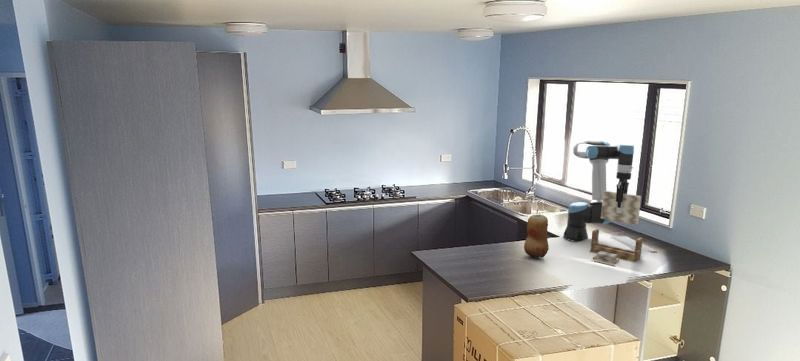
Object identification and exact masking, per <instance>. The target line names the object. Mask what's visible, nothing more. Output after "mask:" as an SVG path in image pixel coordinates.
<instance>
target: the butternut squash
mask: <svg viewBox="0 0 800 361" xmlns="http://www.w3.org/2000/svg"><path fill="white" fill-rule="evenodd" d="M548 220H549V219H548V217H547V216H546V215H543V214H538V213H537V214H532V215H530V216H529V217H528V219H527V224H526V231H527V237H526V239H525V241H524V244H523V250H524V252H525V253H526V255H528V256H529V257H530V258H532V259H537V260H538V259H539V258H544V257H545V256H546V255H547V254H548V252H549V250H550V248H549V241H548V226H549V221H548Z"/></svg>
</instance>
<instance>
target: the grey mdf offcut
mask: <svg viewBox="0 0 800 361" xmlns="http://www.w3.org/2000/svg"><path fill="white" fill-rule="evenodd" d="M596 255H597V258H600V259H605V260H610V261H614V260H616V259H618V258H617V254H612V253H608V252H603V251H600V252H598V253H597V254H596Z"/></svg>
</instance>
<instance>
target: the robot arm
mask: <svg viewBox="0 0 800 361" xmlns="http://www.w3.org/2000/svg"><path fill="white" fill-rule="evenodd" d="M634 153H635V147H634V145H633V144H628V143H627V144H626V143H625V144H624V143H623V144H622V143H621V144H620V145H611V144H610V143H609V142H608V141H603V140H581V141H578V142H576V143H575V144H574V145H573V146H572V154H574V156H576V157H577V158H581V159H589V160H588V161H589V162H588V163H590V164H591V197H592V199H591V201H590V202H589V204H588V203H587V202H582V201H581V202H573V203H570V204H569V206H568V210H567V223H566V225H567V226H566V227H565V230H564V232H563V239H565V238H566V239H565V240H567V239H569V240H568V241H571V240H573V241H572V242H578V241H580V242H582V241H584V240H588V239H589V234H588V231H587V224H595V225H597V224H598V225H607V224H609V223H610V222H611V221H612V220H608V219H602V218H601V210H602V200H603V191H607V163H608V162H609V160H617V167H616V171H617V172H616V177H615V178H616V179H617V180H618V183H617V184H616V191H615V192H616V202H617V210H616V213H622V204H623V202H622V199H623V194H628V191H629V185H630V183H629V182H628V181H630V180H631V178H632V173H631V172H632V170H633V169H634V168H633V161H634Z"/></svg>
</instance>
